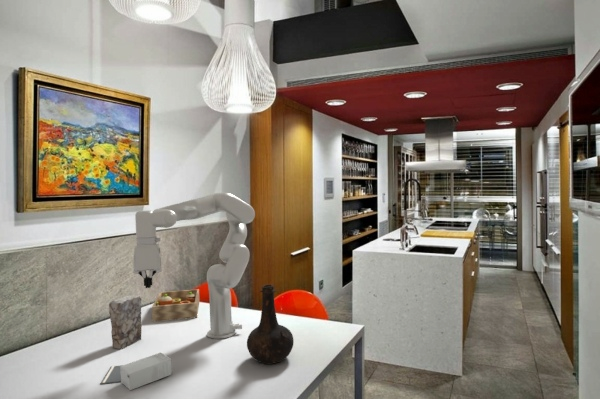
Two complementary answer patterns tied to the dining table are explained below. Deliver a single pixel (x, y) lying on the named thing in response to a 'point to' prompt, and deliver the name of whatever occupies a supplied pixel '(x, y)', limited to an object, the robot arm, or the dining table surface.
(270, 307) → the glass bottle
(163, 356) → the skincare box
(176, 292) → the crate
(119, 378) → the mat
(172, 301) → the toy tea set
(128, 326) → the stone block
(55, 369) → the dining table surface
